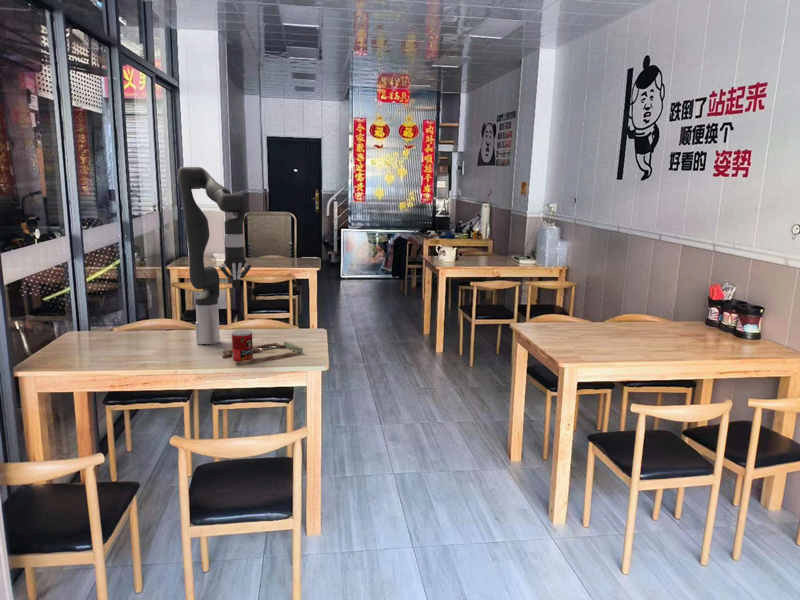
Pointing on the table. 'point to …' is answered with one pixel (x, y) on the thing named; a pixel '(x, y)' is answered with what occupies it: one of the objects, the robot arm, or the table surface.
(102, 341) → the table surface
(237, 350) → the canned food
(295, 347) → the brown pliers
